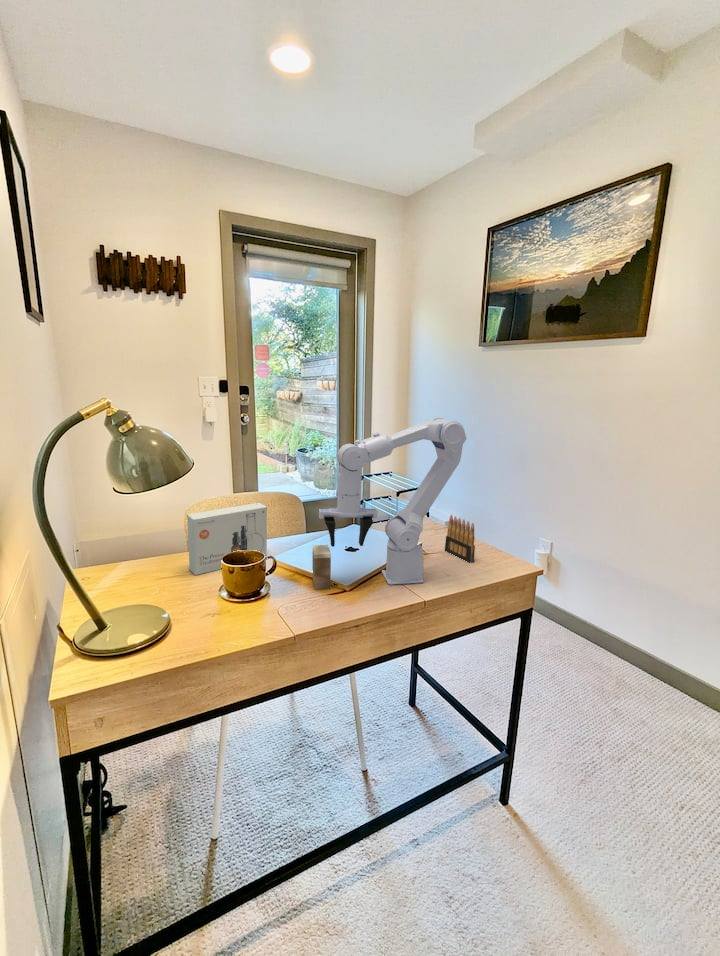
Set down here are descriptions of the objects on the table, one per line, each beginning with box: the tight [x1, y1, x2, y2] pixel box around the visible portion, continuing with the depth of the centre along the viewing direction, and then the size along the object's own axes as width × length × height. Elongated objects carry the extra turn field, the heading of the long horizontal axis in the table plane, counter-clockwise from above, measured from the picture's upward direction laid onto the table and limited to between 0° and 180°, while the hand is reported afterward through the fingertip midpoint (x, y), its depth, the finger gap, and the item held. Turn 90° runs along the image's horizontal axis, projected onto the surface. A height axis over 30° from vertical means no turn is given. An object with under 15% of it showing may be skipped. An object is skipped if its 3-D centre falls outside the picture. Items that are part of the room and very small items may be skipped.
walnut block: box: [311, 544, 332, 591], centre depth 112 cm, size 4×6×10 cm, turn 11°
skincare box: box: [186, 502, 268, 576], centre depth 122 cm, size 21×6×16 cm, turn 129°
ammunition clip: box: [444, 514, 476, 564], centre depth 133 cm, size 11×2×12 cm, turn 32°
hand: (346, 544), depth 112 cm, fingers open, 7 cm apart
